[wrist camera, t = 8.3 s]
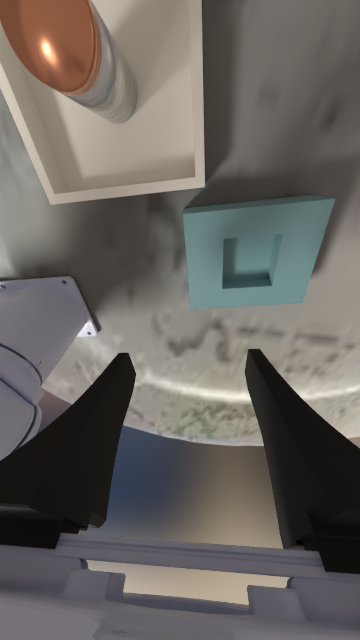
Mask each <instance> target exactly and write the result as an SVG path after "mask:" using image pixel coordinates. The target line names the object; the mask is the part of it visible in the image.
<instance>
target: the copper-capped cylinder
mask: <svg viewBox="0 0 360 640" xmlns="http://www.w3.org/2000/svg"><path fill="white" fill-rule="evenodd" d="M0 21H1V24H2V27H3V29H4V32H5V34H6V36H7V39H8V41H9V43H10V45H11V47H12V48H13V50H14V52H15V53H16V55H17V57H18V58H19V60H20V61H21V62H22V64H23V65H24V66H25V67H26V69H27V70H28V71H29V72H30V73H31V74H32V75H33V76H34V77H36V78H37V79H38V80H39V81H41V82H42V83H44V84H46V85H48V86H49V87H51V88H53V89H54V90H56V91H58V92H59V93H61V94H63V95H64V96H66V97H68V98H70V99H71V100H73V101H75V102H76V103H78V104H80V105H81V106H83V107H85V108H86V109H88V110H90V111H92V112H93V113H95V114H97V115H98V116H100V117H102V118H103V119H105V120H107V121H109V122H111V123H113V124H122V123H125V122H126V121H128V120H129V119H130V118H131V116H132V115H133V113H134V111H135V108H136V104H137V95H138V92H137V83H136V79H135V76H134V73H133V71H132V69H131V67H130V65H129V63H128V62H127V60H126V58H125V56H124V55H123V53H122V51H121V50H120V48H119V46H118V45H117V43H116V41H115V40H114V38H113V36H112V34H111V33H110V31H109V29H108V28H107V26H106V24H105V23H104V21H103V19H102V18H101V16H100V14H99V13H98V11H97V9H96V7H95V6H94V4H93V2H92V1H91V0H0Z"/></svg>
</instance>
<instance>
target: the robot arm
mask: <svg viewBox="0 0 360 640" xmlns="http://www.w3.org/2000/svg"><path fill="white" fill-rule="evenodd" d="M63 280H65V281H66V283H65V282H64V281H63ZM4 285H5V286H6V287H5V286H4ZM90 332H91V333H90ZM97 334H98V330H97V328H96V326H95V324H94V322H93V319H92V317H91V315H90V313H89V311H88V308H87V306H86V304H85V302H84V300H83V298H82V295H81V293H80V291H79V289H78V287H77V284H76V282H75V280H74V279H73V278H72V277H70V276H63V277H50V278H36V279H23V280H9V281H0V640H360V448H358V447H357V446H356V445H354V444H353V443H352V442H351V441H349V440H348V439H347V438H346V437H345V436H343V435H342V434H341V433H340V432H338V431H337V430H336V429H335V428H334V427H332V426H331V425H330V424H329V423H328V422H326V421H325V420H324V419H323V418H322V417H321V416H320V415H319V414H317V413H316V412H315V411H314V410H313V409H312V408H311V407H310V406H309V405H308V404H307V403H306V402H305V401H304V400H303V399H302V398H301V397H300V396H299V395H298V394H297V393H296V392H295V391H294V390H293V389H292V388H291V387H290V386H289V384H288V383H287V382H286V381H285V380H284V379H283V378H282V376H281V375H280V374H279V373H278V372H277V371H276V369H275V368H274V367H273V366H272V364H271V363H270V362H269V361H268V359H267V358H266V357H265V355H264V354H263V353H262V351H261V350H260V349H248V355H247V361H246V367H245V376H246V381H247V387H248V391H249V394H250V397H251V401H252V404H253V407H254V410H255V414H256V417H257V420H258V423H259V427H260V430H261V434H262V438H263V443H264V447H265V452H266V457H267V462H268V467H269V472H270V478H271V483H272V489H273V494H274V499H275V506H276V512H277V518H278V524H279V530H280V536H281V540H282V545H283V548H284V549H276V548H262V547H249V546H234V545H220V544H207V543H192V542H179V541H166V540H152V539H138V538H124V537H111V536H97V535H83V534H78V532H79V530H83V531H86V530H87V528H88V527H91V528H99V527H101V526H102V525H103V524H104V522H105V521H106V516H107V508H108V501H109V494H110V487H111V480H112V474H113V469H114V463H115V458H116V452H117V447H118V443H119V438H120V433H121V429H122V425H123V422H124V419H125V416H126V412H127V409H128V406H129V403H130V399H131V396H132V393H133V389H134V383H135V377H136V372H135V370H134V367H133V364H132V361H131V359H130V356H129V353H118V355H117V356H116V357H115V358H114V359H113V361H112V362H111V363H110V364H109V365H108V367H107V368H106V369H105V370H104V371H103V372H102V374H101V375H100V376H99V377H98V378H97V379H96V381H95V382H94V383H93V384H92V385H91V386H90V387H89V388H88V389H87V390H86V391H85V392H84V394H83V395H82V396H81V397H80V398H79V399H78V400H77V401H76V402H75V403H74V404H73V405H71V406H70V407H69V408H68V409H67V410H66V411H65V412H64V413H63V414H62V415H60V416H59V417H58V418H57V419H56V420H54V421H53V422H52V423H51V424H50V425H49V426H47V427H46V428H45V429H44V430H43V431H41V432H40V433H38V434H37V435H36V433H37V431H38V429H39V426H40V423H41V418H42V412H41V409H40V407H39V406H38V405H37V404H38V403H39V401H40V400H41V398H42V396H43V395H44V394H45V393H44V392H43V391H42V389H41V385H42V384H43V383H44V381H45V380H46V378H47V377H48V376H49V374H50V373H51V371H52V370H53V369H54V367H55V366H56V364H57V363H58V362H59V360H60V359H61V357H62V356H63V355H64V353H65V352H66V350H67V349H68V348H69V346H70V345H71V343H72V342H73V341H74V339H75V338H76V337H82V336H96V335H97ZM35 435H36V436H35ZM86 560H95V561H107V562H120V563H130V564H143V565H154V566H165V567H177V568H188V569H200V570H212V571H223V572H235V573H246V574H258V575H269V576H280V577H292V578H289V580H288V581H287V586H286V588H275V587H264V586H253V585H248V587H247V592H248V600H249V605H243V604H235V603H227V602H219V601H211V600H202V599H193V598H182V597H173V596H161V595H148V594H136V593H124V592H123V588H124V582H125V577H126V576H125V574H123V573H112V572H102V571H91V570H89V569H88V564H87V561H86Z"/></svg>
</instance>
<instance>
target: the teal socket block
mask: <svg viewBox="0 0 360 640" xmlns="http://www.w3.org/2000/svg"><path fill="white" fill-rule="evenodd" d="M335 200H336V198H330V197H324V196H319V195H304V196H294V197H285V198H275V199H266V200H256V201H247V202H237V203H228V204H218V205H209V206H199V207H190V208H184V211H183V223H184V236H185V248H186V261H187V273H188V286H189V298H190V309H197V308H217V307H236V306H256V305H275V304H295V303H302V302H303V299H304V296H305V293H306V289H307V286H308V283H309V280H310V277H311V274H312V271H313V268H314V265H315V262H316V259H317V255H318V252H319V249H320V246H321V243H322V240H323V237H324V234H325V231H326V228H327V225H328V221H329V218H330V215H331V212H332V209H333V206H334V203H335Z"/></svg>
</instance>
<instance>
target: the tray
mask: <svg viewBox="0 0 360 640" xmlns="http://www.w3.org/2000/svg"><path fill="white" fill-rule="evenodd" d="M91 1H92V2H93V4H94V6H95V7H96V9H97V11H98V13H99V14H100V16H101V18H102V19H103V21H104V23H105V24H106V26H107V28H108V29H109V31H110V33H111V34H112V36H113V38H114V40H115V41H116V43H117V45H118V46H119V48H120V50H121V51H122V53H123V55H124V56H125V58H126V60H127V62H128V63H129V65H130V67H131V69H132V71H133V73H134V76H135V79H136V83H137V92H138V95H137V104H136V108H135V111H134V113H133V115H132V116H131V118H130V119H129V120H128V121H126V122H125V123H122V124H113V123H111V122H109V121H107V120H105V119H103V118H102V117H100V116H98V115H97V114H95V113H93V112H92V111H90V110H88V109H86V108H85V107H83V106H81V105H80V104H78V103H76V102H75V101H73V100H71V99H70V98H68V97H66V96H64V95H63V94H61V93H59V92H58V91H56V90H54V89H53V88H51V87H49V86H48V85H46V84H44V83H42V82H41V81H39V80H38V79H37V78H36V77H34V76H33V75H32V74H31V73H30V72H29V71H28V70H27V69H26V67H25V66H24V65H23V64H22V62H21V61H20V60H19V58H18V57H17V55H16V53H15V52H14V50H13V48H12V47H11V45H10V43H9V41H8V39H7V36H6V34H5V32H4V29H3V27H2V24H1V21H0V88H1V90H2V92H3V95H4V97H5V99H6V102H7V104H8V106H9V109H10V111H11V113H12V116H13V118H14V120H15V123H16V125H17V127H18V130H19V132H20V134H21V137H22V139H23V141H24V144H25V146H26V148H27V151H28V153H29V155H30V158H31V160H32V162H33V165H34V167H35V169H36V172H37V174H38V176H39V179H40V181H41V183H42V186H43V188H44V190H45V193H46V195H47V197H48V200H49V202H50V204H51V205H54V204H63V203H71V202H80V201H89V200H97V199H106V198H115V197H124V196H132V195H141V194H150V193H158V192H167V191H176V190H184V189H193V188H202V187H205V164H204V109H203V55H202V0H91Z"/></svg>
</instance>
